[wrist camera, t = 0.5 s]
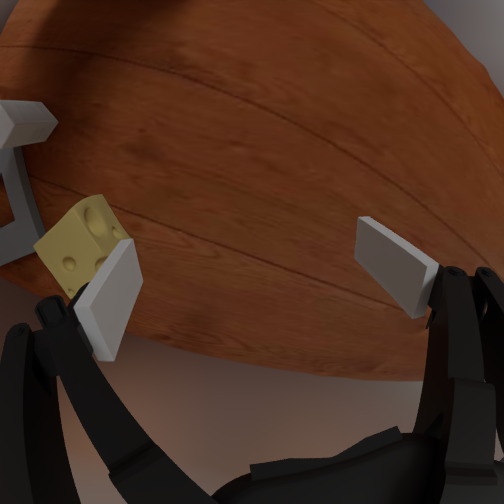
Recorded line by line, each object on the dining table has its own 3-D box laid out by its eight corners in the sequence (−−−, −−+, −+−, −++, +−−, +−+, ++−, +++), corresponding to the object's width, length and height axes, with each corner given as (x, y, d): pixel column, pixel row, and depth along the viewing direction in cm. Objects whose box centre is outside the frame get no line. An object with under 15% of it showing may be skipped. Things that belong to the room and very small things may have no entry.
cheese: (136, 243, 41) (118, 272, 32) (91, 272, 42) (68, 304, 33) (102, 188, 37) (73, 204, 28) (58, 223, 38) (27, 246, 28)
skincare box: (28, 121, 29) (-17, 125, 19) (42, 101, 29) (-3, 98, 18) (45, 143, 32) (0, 151, 21) (60, 122, 31) (15, 123, 20)
